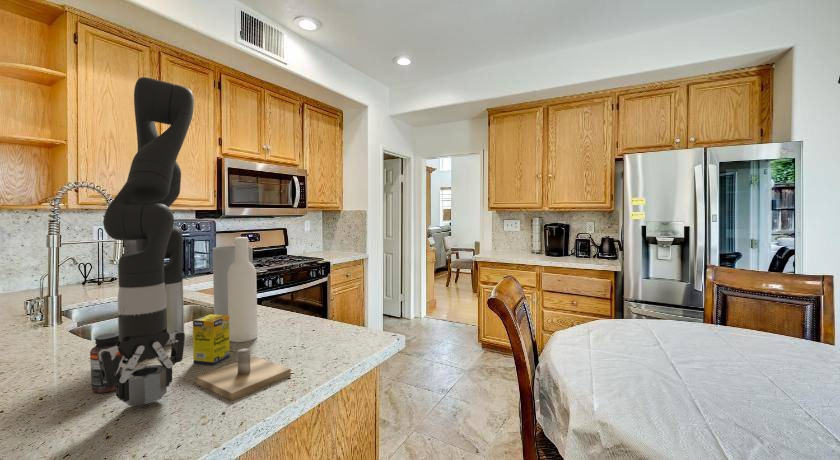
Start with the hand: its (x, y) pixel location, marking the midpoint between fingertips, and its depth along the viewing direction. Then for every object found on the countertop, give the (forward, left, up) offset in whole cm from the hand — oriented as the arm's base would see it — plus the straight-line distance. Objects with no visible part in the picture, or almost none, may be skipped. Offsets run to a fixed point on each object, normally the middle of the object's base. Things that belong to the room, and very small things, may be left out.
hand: (145, 392), depth 73 cm
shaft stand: (+5, +17, -2) cm, 18 cm away
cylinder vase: (-44, +44, -3) cm, 62 cm away
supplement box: (-12, +19, -3) cm, 22 cm away
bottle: (-21, +33, -3) cm, 39 cm away
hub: (0, 0, -1) cm, 1 cm away
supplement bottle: (-15, -1, -3) cm, 15 cm away
